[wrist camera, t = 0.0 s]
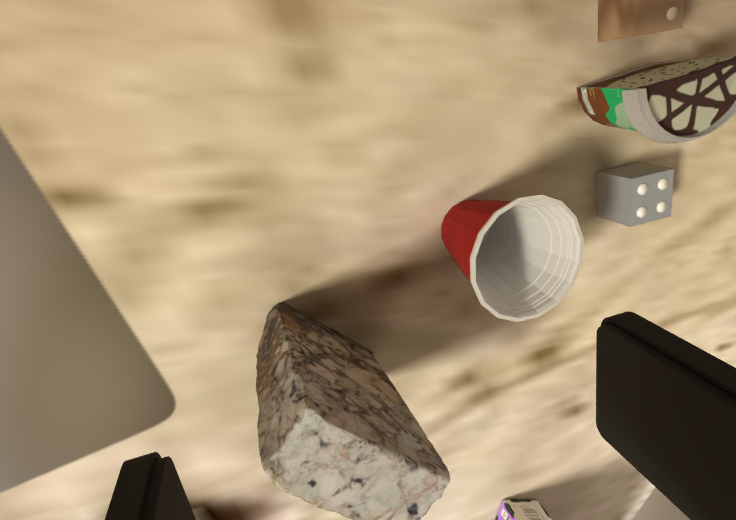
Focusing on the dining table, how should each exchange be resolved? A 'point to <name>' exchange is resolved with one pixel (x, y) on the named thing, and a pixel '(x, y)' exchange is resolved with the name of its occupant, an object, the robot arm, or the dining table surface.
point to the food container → (666, 98)
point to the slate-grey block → (635, 193)
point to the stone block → (339, 425)
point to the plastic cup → (516, 252)
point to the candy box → (522, 510)
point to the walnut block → (637, 17)
